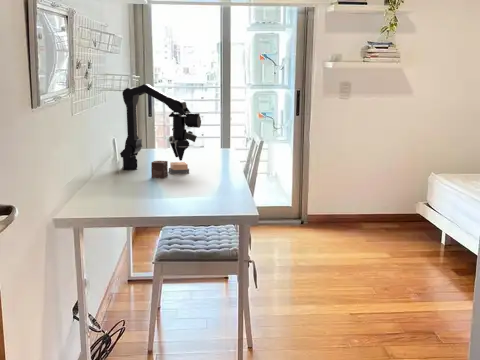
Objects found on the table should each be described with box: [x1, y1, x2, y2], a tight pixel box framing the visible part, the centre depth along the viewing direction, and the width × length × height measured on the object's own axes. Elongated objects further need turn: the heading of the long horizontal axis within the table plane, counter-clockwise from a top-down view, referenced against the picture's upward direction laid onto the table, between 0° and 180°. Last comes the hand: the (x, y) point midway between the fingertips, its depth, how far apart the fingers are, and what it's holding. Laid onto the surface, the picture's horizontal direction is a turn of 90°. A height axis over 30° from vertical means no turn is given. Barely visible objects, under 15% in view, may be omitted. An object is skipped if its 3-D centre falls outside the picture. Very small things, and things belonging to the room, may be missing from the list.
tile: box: [169, 161, 189, 170], centre depth 262 cm, size 7×7×2 cm
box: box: [150, 160, 169, 179], centre depth 250 cm, size 6×6×7 cm
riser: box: [168, 167, 190, 175], centre depth 262 cm, size 9×5×2 cm, turn 108°
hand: (178, 158), depth 261 cm, fingers open, 9 cm apart
